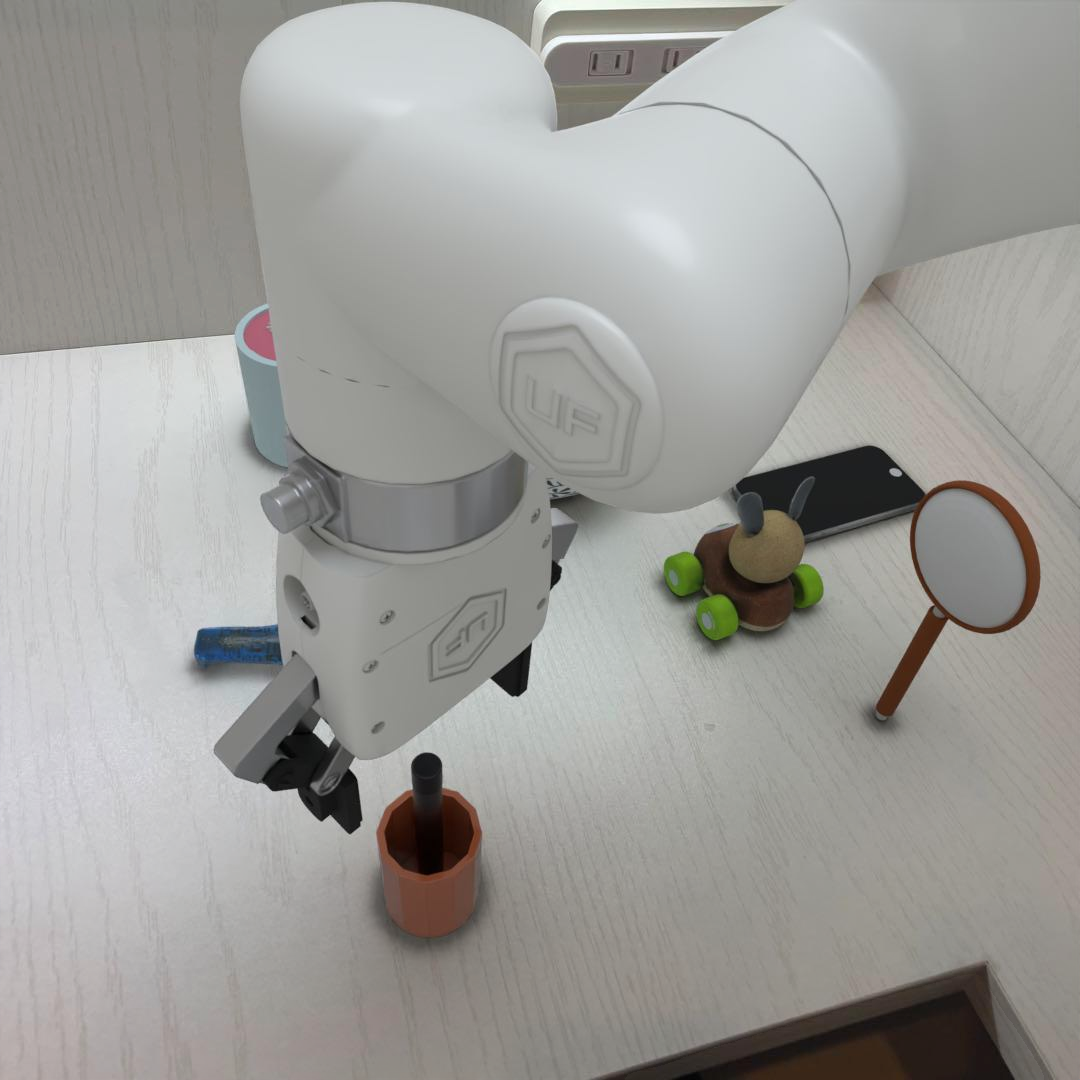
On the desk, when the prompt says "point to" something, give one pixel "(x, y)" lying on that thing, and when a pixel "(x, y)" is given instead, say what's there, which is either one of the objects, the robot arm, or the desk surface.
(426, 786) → the stylus
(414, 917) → the pen pot
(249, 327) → the mug
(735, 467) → the robot arm
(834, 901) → the desk surface
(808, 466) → the smartphone
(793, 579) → the toy car
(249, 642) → the figurine
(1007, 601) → the magnifying glass
